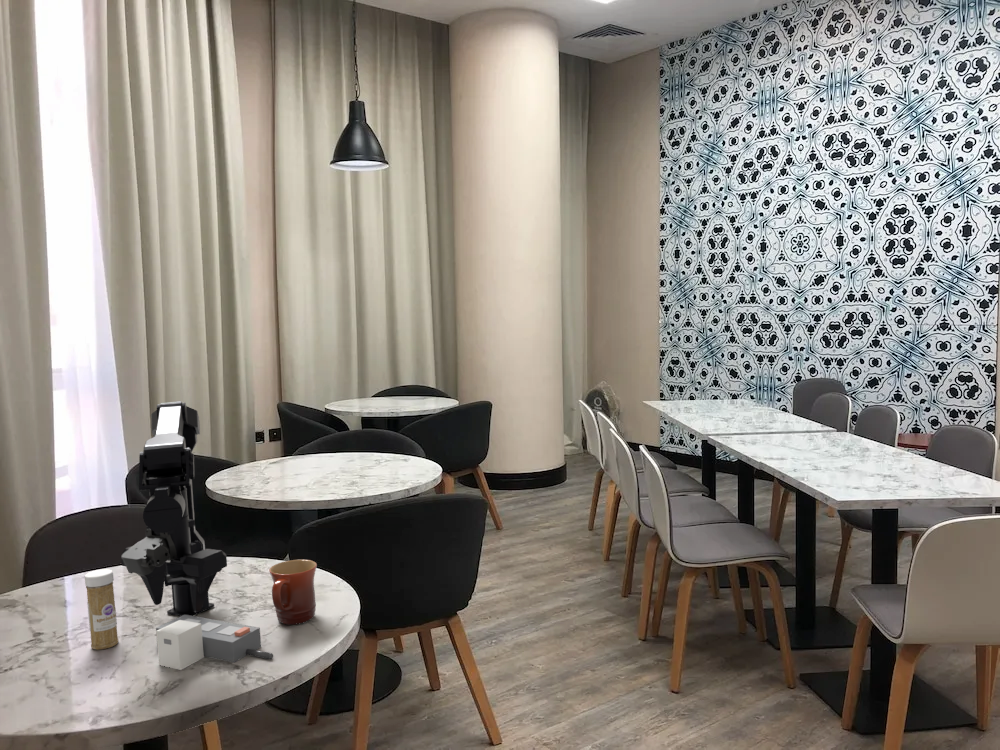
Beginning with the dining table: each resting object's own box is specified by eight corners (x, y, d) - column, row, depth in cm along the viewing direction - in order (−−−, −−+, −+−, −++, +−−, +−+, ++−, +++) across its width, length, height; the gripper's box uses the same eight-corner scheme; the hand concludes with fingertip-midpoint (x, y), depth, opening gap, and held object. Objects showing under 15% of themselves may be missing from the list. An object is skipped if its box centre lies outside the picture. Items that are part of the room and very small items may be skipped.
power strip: (157, 646, 141) (155, 624, 141) (186, 632, 147) (184, 611, 147) (259, 667, 131) (257, 643, 131) (285, 651, 137) (284, 628, 137)
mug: (286, 609, 157) (282, 558, 156) (327, 611, 155) (324, 559, 154) (255, 634, 145) (251, 579, 144) (300, 636, 143) (296, 581, 142)
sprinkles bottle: (105, 651, 140) (98, 577, 139) (84, 649, 142) (78, 575, 141) (124, 641, 145) (118, 569, 143) (104, 638, 146) (98, 567, 145)
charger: (158, 665, 134) (155, 630, 133) (193, 647, 140) (190, 614, 140) (180, 670, 131) (177, 635, 131) (214, 651, 138) (211, 618, 138)
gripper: (89, 525, 130) (97, 618, 131) (172, 535, 122) (180, 634, 123) (145, 508, 140) (152, 594, 141) (225, 516, 132) (232, 608, 133)
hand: (177, 607), depth 134 cm, fingers open, 9 cm apart
